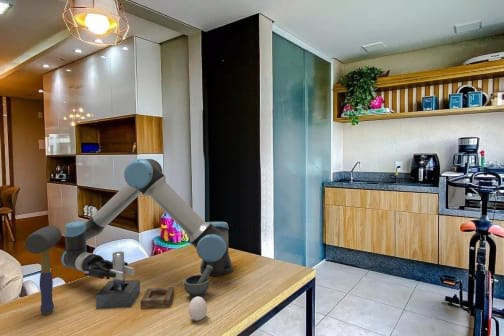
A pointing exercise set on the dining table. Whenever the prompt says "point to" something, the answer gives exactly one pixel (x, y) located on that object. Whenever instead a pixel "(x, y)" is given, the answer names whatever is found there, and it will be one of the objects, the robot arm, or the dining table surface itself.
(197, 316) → the egg
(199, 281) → the mortar and pestle
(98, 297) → the socket
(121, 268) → the brushed metal peg
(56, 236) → the rubber mallet
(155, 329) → the dining table surface
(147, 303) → the wooden square tray
